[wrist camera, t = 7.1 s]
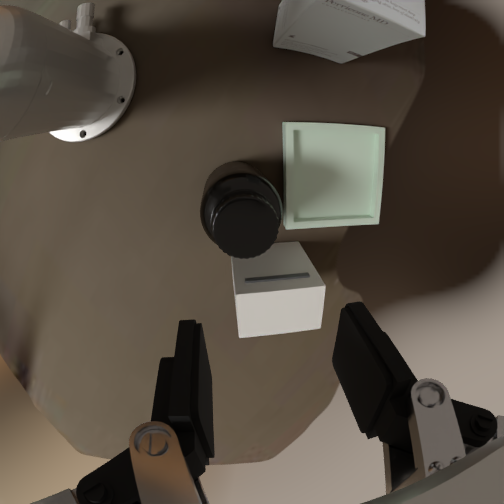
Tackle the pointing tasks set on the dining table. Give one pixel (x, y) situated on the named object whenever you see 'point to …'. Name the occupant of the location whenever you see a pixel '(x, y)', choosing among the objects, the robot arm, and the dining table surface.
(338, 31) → the skincare box
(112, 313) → the dining table surface
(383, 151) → the tray
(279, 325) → the unit
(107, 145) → the dining table surface
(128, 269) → the dining table surface
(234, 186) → the supplement bottle
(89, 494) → the robot arm
